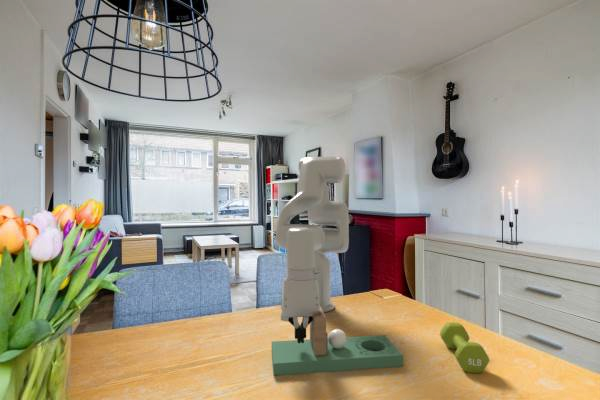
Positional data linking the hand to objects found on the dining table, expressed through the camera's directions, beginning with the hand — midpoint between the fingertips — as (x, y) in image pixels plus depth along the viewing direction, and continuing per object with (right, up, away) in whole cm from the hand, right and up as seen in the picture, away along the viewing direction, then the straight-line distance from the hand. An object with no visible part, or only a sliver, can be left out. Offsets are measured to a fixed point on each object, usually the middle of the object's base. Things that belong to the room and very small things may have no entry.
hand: (300, 340), depth 86 cm
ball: (+10, 0, +1) cm, 10 cm away
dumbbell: (+45, -6, +2) cm, 45 cm away
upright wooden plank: (+5, -2, +1) cm, 5 cm away
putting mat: (+9, -6, +1) cm, 11 cm away
